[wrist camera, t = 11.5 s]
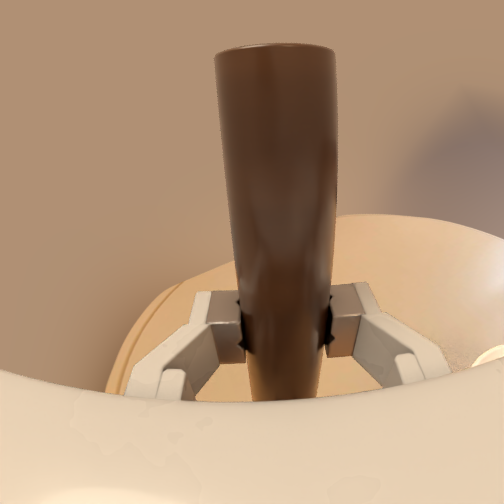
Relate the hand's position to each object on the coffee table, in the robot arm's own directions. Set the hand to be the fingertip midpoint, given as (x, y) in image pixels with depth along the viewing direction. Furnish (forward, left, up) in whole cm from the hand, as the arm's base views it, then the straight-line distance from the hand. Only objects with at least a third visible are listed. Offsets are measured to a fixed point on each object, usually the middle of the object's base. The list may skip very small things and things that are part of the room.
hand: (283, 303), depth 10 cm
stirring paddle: (-1, +1, -9) cm, 10 cm away
